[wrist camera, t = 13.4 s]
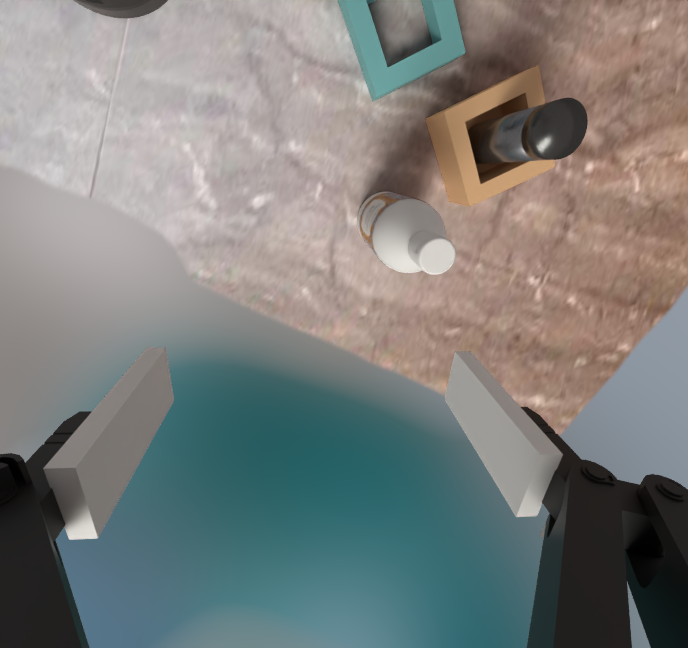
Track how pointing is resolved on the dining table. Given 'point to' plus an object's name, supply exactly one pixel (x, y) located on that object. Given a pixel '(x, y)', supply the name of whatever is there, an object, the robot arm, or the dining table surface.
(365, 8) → the mount
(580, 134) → the pin
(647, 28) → the dining table surface
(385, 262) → the bath foam
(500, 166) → the socket
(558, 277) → the dining table surface
